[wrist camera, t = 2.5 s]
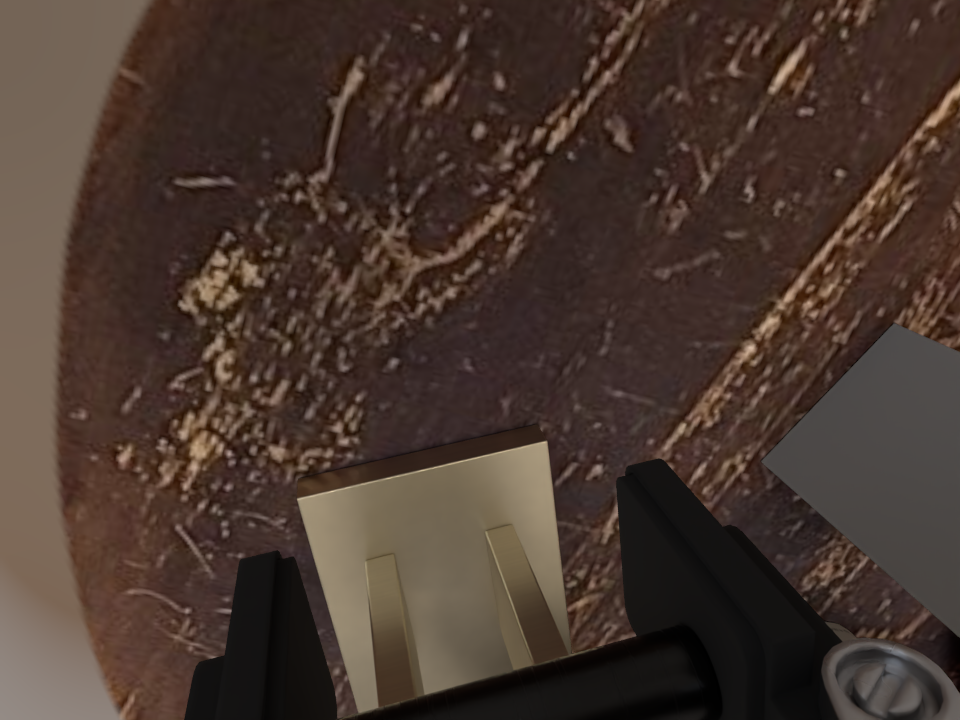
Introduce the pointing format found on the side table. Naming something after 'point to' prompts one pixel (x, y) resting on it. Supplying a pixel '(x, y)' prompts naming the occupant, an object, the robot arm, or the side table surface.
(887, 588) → the side table surface
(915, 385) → the perfume bottle
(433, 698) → the lever
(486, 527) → the bracket
